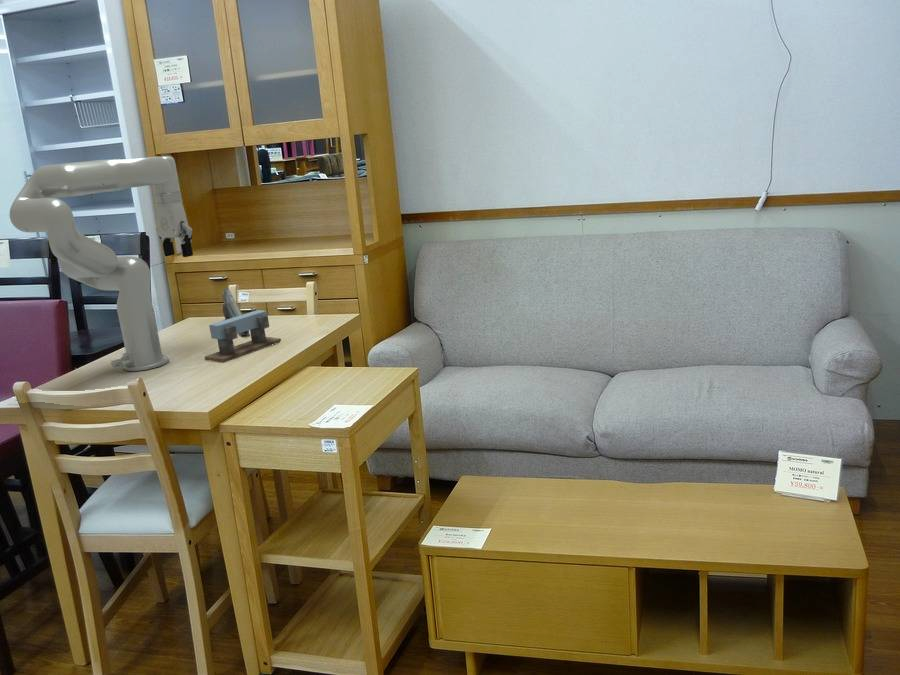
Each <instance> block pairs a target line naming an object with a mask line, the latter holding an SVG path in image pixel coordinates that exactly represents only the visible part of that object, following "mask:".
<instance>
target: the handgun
mask: <svg viewBox="0 0 900 675" xmlns="http://www.w3.org/2000/svg"><path fill="white" fill-rule="evenodd" d="M221 296H222V299H223V304H222V313H223V316H224V320H227V319H230V318H233V317H237V316H240V315H243V314H242V312H241V310H240V309H239V305H238V304H237V303H236V300H235V298H234V296H233V294H232V292H231V290H230V288H229V287H226V288H224V291H223V292H222V293H221ZM248 334H249V335H250V330H248V331H245V332H242V333H239V335H240V336H241V337H243V336H249V335H248Z"/></svg>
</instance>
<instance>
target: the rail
mask: <svg viewBox="0 0 900 675" xmlns="http://www.w3.org/2000/svg"><path fill="white" fill-rule="evenodd" d="M265 315H266V316H268V312H267V310H262V309H256V310H253V311H250V312H247V313H244V314H242V315H240V316H237V317H233V318H230V319H227V320H225V319H224V320H221V321H217V322H215V323H211V324H209V325H208V326H209V333H210V336H211V337H210V338H211V339H214V340H217V339H220V340H221V339H224V338H226V334H225V328H227V327H230V326H236V331H237V335H238V334H239V335H240V333H242V332H245V331H248V330H249V331H250V330H251V329H254V328H257V327H259V326H258V320H257V318H258V317H262V316H265Z"/></svg>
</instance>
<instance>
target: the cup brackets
mask: <svg viewBox="0 0 900 675" xmlns="http://www.w3.org/2000/svg"><path fill="white" fill-rule="evenodd" d="M257 320H258V326H259V327H257V328H254V329H251V330H249V334H250V338H251V340H249V341H246V342H243V343H240V344H237V345H234V339H237V338H238V334H237V331H236V326H230V327H227V328H225V334H226V338H224V339H221V340H220V339H216V341H217V345H218V350H219V351H216V352H213V353H211V354H209V355H205V356H204V360H205V361H210V360H211V361H210V362H216V361H217V362H216V363H225V362H228V361H231V360H234V359H236V358H240V357H242V356H245V355H248V354H251V353H253V351H254V352H256V351H258V350H261V349H265V348H267V346H268V347H270V346H273V345H276V344H279V343H281V342H282V338H280V337H272V336H267V335H266V330H265V329H268V328H270V322H269V316H268V315H267V316H266V315H265V316H262V317H258V318H257ZM280 341H281V342H280ZM278 342H279V343H278ZM275 343H276V344H275ZM272 344H273V345H272ZM269 345H270V346H269ZM264 347H265V348H264Z"/></svg>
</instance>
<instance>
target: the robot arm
mask: <svg viewBox="0 0 900 675" xmlns="http://www.w3.org/2000/svg"><path fill="white" fill-rule="evenodd" d="M145 186H152V191H153V197H154V201H155V202H154V203H155V207H154V208H155V223H156V231H157V234H158V238H159V239H160V243H161V244H162V250H163V254H164V257H169V256H174V255H175V253H176V252H175V247H174V242H173V241H172V239H175V238H178V239H179V241H180V249H181V252H182V253H181V254H182V257H183V258H188V257H192V256H194V253H193V252H194V251H193V247H192V246H193V245H192V243H193V241H192V239H193V228H192V227H191V226H189V222H188V219H187V215H186V211H185V208H184V207H185V206H184V205H183V198H182V192H181V189H180V188H181V187H180V183H179V176H178V172H177V166H176V161H175V159H174V157H173V156H170V155H164V156H162V155H161V156H148V157H147V156H146V157H138V158H136V157H135V158H127V159H126V158H125V159H122V158H121V159H118V158H116V159H111V158H110V159H109V158H108V159H96V160H88V161H77V162H67V163H65V162H64V163H58V164H57V163H56V164H48V165H42V166H39V167H38V168H37V169H35V171H34V172H33V173H32V174H31V176H30V177H29V178H28V180H26V182H25V184H24V185H23V187H22V188H21V190H20V191H19V193H17V195H16V197H15V199H14V200H13V202H12V204H11V206H10V209H9V219H10V223H11V224H12V225H13V227H15V229H17V230H19V231H20V232H24V233H45V232H46V235H47V240H48V243H49V244H48V245H49V248H50V251H51V253H52V254H53V256H55V257H56V258H57V263H58V264H57V265H58V267H59V269H60V270H61V271H62V273H63V274H64V275H65V276H67V277H68V278H70V279H72V280H74V281H77V282H79V283H81V284H84V285H87V286H89V287H91V288H94V289H97V290H101V291H119V293H118V298H117V300H116V312H117V316H118V320H119V326H120V330H121V335H122V340H123V344H124V351H125V352H124V353H122V356H121V357H120V358H118V359H114V360H111V361H110V362H111V363H110V364H111V366H112V367H113V368H117V367H120V366H121V367H122V369H123V370H124V371H127V372H140V371H146V370H151V369H156V368H158V367H162V366H164V365H166V364H168V362H170V358H169V355H166V354H163V352H162V348H161V347H162V346H161V343H160V341H161V340H160V337H159V330H158V326H157V321H156V316H155V310H154V306H153V300H152V294H151V270H150V267H149V265H148V264H147V262H146V261H144V259H143V258H140V257H137V256H130V255H128V256H127V255H126V256H124V255H123V256H117V254H116V253H115V251H114V250H113V249H112V248H111V247H109V246H107V245H105V244H103V243H102V242H99V241H97V240H94V239H92V238H91V237H88V236H86V235H84V234H83V233H81V232H80V231H79V230H78V229H77V227H76V223H75V218H74V214H73V212H72V209H71V207H70V206H69V205H68V203H66V202H65V201H64V200H62V199H60V198H68V197H69V198H71V197H78V196H79V197H80V196H87V195H94V194H99V193H108V192H117V191H122V190H128V189H132V188H138V187H139V188H140V187H145Z"/></svg>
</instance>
